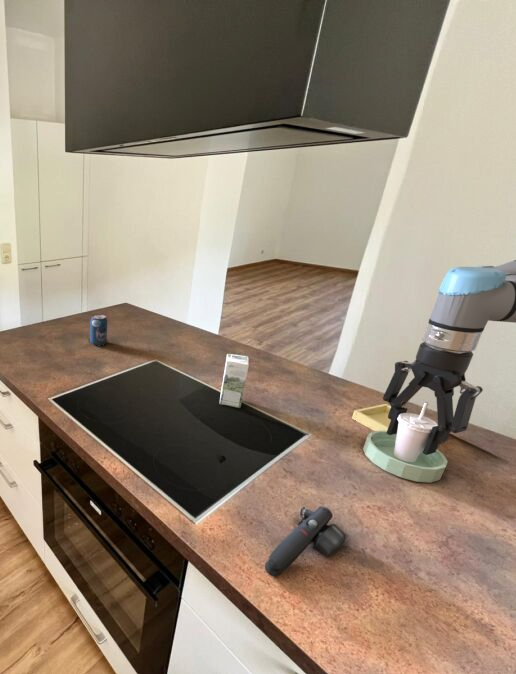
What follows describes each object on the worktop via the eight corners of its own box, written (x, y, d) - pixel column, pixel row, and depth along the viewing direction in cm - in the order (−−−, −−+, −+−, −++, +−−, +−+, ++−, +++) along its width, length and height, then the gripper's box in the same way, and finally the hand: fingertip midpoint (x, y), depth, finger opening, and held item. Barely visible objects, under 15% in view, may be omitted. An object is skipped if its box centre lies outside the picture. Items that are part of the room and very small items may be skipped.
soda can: (98, 348, 146) (99, 320, 142) (86, 343, 151) (86, 316, 147) (110, 343, 150) (110, 316, 146) (97, 339, 155) (98, 312, 151)
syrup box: (240, 399, 108) (248, 355, 103) (240, 409, 103) (249, 363, 98) (220, 395, 110) (227, 352, 105) (219, 405, 105) (226, 360, 100)
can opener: (308, 516, 68) (315, 493, 66) (349, 545, 63) (358, 521, 61) (246, 558, 61) (252, 534, 59) (287, 595, 55) (295, 570, 53)
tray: (441, 440, 89) (445, 431, 88) (407, 449, 86) (411, 440, 85) (382, 411, 101) (385, 403, 100) (351, 418, 98) (354, 410, 97)
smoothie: (430, 461, 79) (453, 407, 74) (412, 470, 77) (435, 414, 72) (396, 444, 85) (415, 393, 80) (379, 452, 83) (397, 399, 78)
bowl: (455, 476, 77) (463, 461, 76) (411, 490, 74) (418, 474, 73) (389, 439, 89) (394, 426, 88) (349, 450, 86) (353, 436, 84)
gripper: (380, 332, 79) (353, 421, 87) (500, 369, 62) (452, 476, 70) (405, 328, 81) (376, 416, 89) (529, 363, 63) (478, 468, 72)
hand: (409, 442), depth 79 cm, fingers closed on smoothie, 6 cm apart
